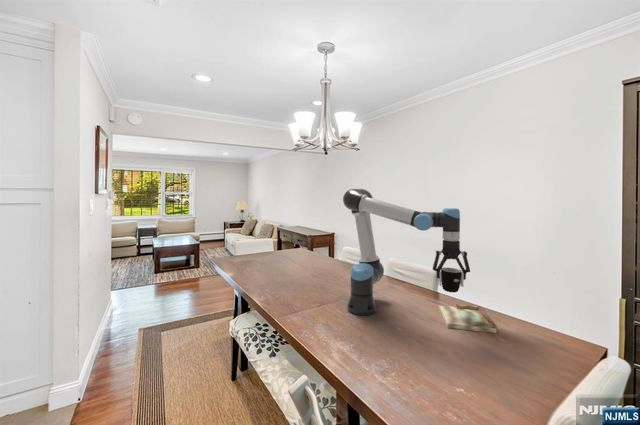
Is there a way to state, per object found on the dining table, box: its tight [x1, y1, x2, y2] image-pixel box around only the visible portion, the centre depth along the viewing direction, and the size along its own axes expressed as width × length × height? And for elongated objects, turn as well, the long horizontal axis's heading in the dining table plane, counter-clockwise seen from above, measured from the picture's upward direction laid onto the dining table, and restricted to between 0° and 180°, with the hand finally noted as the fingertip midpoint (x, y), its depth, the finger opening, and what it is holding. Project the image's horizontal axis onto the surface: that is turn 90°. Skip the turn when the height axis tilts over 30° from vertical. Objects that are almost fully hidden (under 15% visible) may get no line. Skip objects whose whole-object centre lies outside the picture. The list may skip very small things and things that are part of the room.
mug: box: [440, 267, 462, 293], centre depth 133 cm, size 12×9×10 cm
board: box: [438, 304, 498, 334], centre depth 132 cm, size 20×21×4 cm
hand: (450, 285), depth 133 cm, fingers closed on mug, 9 cm apart
